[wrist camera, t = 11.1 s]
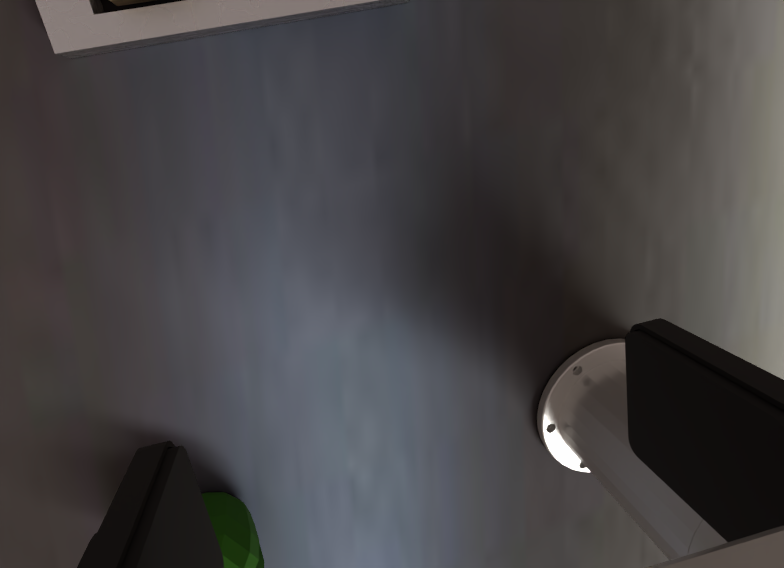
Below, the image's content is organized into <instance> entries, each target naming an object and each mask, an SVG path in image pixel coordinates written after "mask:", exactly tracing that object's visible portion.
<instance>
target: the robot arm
mask: <svg viewBox="0 0 784 568" xmlns="http://www.w3.org/2000/svg"><path fill="white" fill-rule="evenodd" d="M537 426H538V431H539V435H540V439H541V440H542V442H543V444H544V446H545V448H546V449H547V450H548V451H549V453H550V454H551V455H552V456H553V458H555V459H556V460H557V461H558V462H559V463H560V464H562V465H564V466H566V467H568V468H570V469H572V470H576V471H580V472H591V473H592V474H593V475H594V476H595V477H596V479H597V480H598V481H599V482H600V483H601V484H602V485H603V486H604V487H605V489H606V490H607V491H608V492H609V493H610V494H611V495H612V496H613V497H614V499H615V500H616V501H617V502H618V503H619V504H620V505H621V506H622V508H623V509H624V510H625V511H626V512H627V513H628V514H629V515H630V516H631V518H632V519H633V520H634V521H635V522H636V523H637V524H638V525H639V527H640V528H641V529H642V530H643V531H644V532H645V533H646V534H647V535H648V537H649V538H650V539H651V540H652V541H653V542H654V543H655V544H656V545H657V547H658V548H659V549H660V550H661V551H662V552H663V553H664V554H665V556H666V557H667V558H668V559H669V561H666V562H663V563H659V564H656V565H653V566H650V567H646V568H784V380H783V379H781V378H779V377H777V376H775V375H773V374H771V373H769V372H767V371H765V370H763V369H761V368H759V367H757V366H755V365H753V364H751V363H749V362H747V361H745V360H743V359H741V358H739V357H737V356H735V355H733V354H731V353H729V352H727V351H725V350H723V349H721V348H719V347H718V346H716V345H714V344H712V343H710V342H708V341H706V340H704V339H702V338H700V337H698V336H696V335H694V334H692V333H690V332H688V331H686V330H684V329H682V328H680V327H678V326H676V325H674V324H672V323H670V322H668V321H666V320H664V319H661V318H660V319H655V320H651V321H647V322H643V323H639V324H635V325H634V326H633V327H632V328H631V331H630V333H628V334H627V335H626V337H625V339H621V338H619V339H607V340H604V341H600V342H597V343H593V344H591V345H589V346H587V347H585V348H583V349H581V350H579V351H578V352H577V353H575V354H574V355H572V356H571V357H569V358H568V359H567V360H566V361H565V362H564V363H563V364H562V365H561V366H560V367H559V368H558V369H557V370H556V372H555V373H554V374H553V376H552V377H551V378H550V380H549V382H548V383H547V385H546V387H545V389H544V391H543V393H542V396H541V399H540V402H539V406H538V413H537ZM77 568H224V561H223V555H222V552H221V549H220V546H219V543H218V540H217V537H216V534H215V532H214V529H213V526H212V523H211V520H210V517H209V515H208V512H207V509H206V506H205V503H204V500H203V497H202V495H201V492H200V489H199V486H198V483H197V480H196V478H195V475H194V472H193V469H192V466H191V463H190V460H189V458H188V455H187V452H186V450H185V448H184V447H183V446H178V447H175V445H174V444H173V443H172V442H171V441H167V442H163V443H159V444H155V445H151V446H147V447H143V448H139V449H138V450H137V452H136V453H135V456H134V458H133V460H132V462H131V464H130V466H129V468H128V470H127V472H126V474H125V476H124V478H123V481H122V483H121V485H120V487H119V489H118V491H117V493H116V495H115V497H114V499H113V501H112V503H111V506H110V508H109V510H108V512H107V514H106V516H105V518H104V520H103V522H102V524H101V526H100V528H99V530H98V532H97V533H96V534H94V536H93V537H92V539H91V540H90V542H89V544H88V546H87V548H86V550H85V552H84V554H83V557H82V559H81V561H80V563H79V565H78V567H77Z"/></svg>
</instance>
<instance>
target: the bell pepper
mask: <svg viewBox="0 0 784 568" xmlns="http://www.w3.org/2000/svg"><path fill="white" fill-rule="evenodd" d="M201 495H202V497H203V500H204V503H205V506H206V509H207V512H208V515H209V517H210V520H211V523H212V526H213V529H214V532H215V534H216V537H217V540H218V543H219V546H220V549H221V552H222V555H223V561H224V568H264V559H263V555H262V552H261V548H260V544H259V538H258V535H257V531H256V528H255V524H254V522H253V519H252V517H251V514H250V512H249V510H248V509H247V507H246V506H245V504H244V503H243V502H242V501H241V500H239V499H237V498H235V497H233V496H231V495H229V494H227V493H225V492H205V493H203V494H201Z"/></svg>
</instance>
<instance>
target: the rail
mask: <svg viewBox="0 0 784 568" xmlns="http://www.w3.org/2000/svg"><path fill="white" fill-rule="evenodd" d="M35 1H36V4H37V6H38V9H39V12H40V15H41V17H42V20H43V23H44V25H45V28H46V31H47V33H48V36H49V39H50V42H51V44H52V47H53V50H54V52H55V54H58V55H61V56H64V57H68V58H71V59H73V58H79V57H85V56H91V55H97V54H103V53H109V52H115V51H121V50H127V49H133V48H139V47H145V46H151V45H157V44H163V43H169V42H175V41H181V40H187V39H193V38H199V37H205V36H211V35H217V34H223V33H229V32H235V31H241V30H247V29H253V28H259V27H265V26H271V25H277V24H283V23H289V22H295V21H301V20H307V19H313V18H319V17H325V16H331V15H337V14H343V13H349V12H355V11H361V10H367V9H373V8H379V7H385V6H391V5H397V4H403V3H407V2H408V1H410V0H185V1H179V2H172V3H166V4H159V5H153V6H146V7H140V8H134V9H127V10H121V11H114V12H108V13H105V12H104V9H103V6H102V3H101V0H35Z"/></svg>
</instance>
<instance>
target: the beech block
mask: <svg viewBox="0 0 784 568" xmlns="http://www.w3.org/2000/svg"><path fill="white" fill-rule="evenodd" d="M109 1H111V2H112V3H114V4H115V5H116V6H123V5H129V4H135V3H142V2H148V1H155V0H109Z"/></svg>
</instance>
